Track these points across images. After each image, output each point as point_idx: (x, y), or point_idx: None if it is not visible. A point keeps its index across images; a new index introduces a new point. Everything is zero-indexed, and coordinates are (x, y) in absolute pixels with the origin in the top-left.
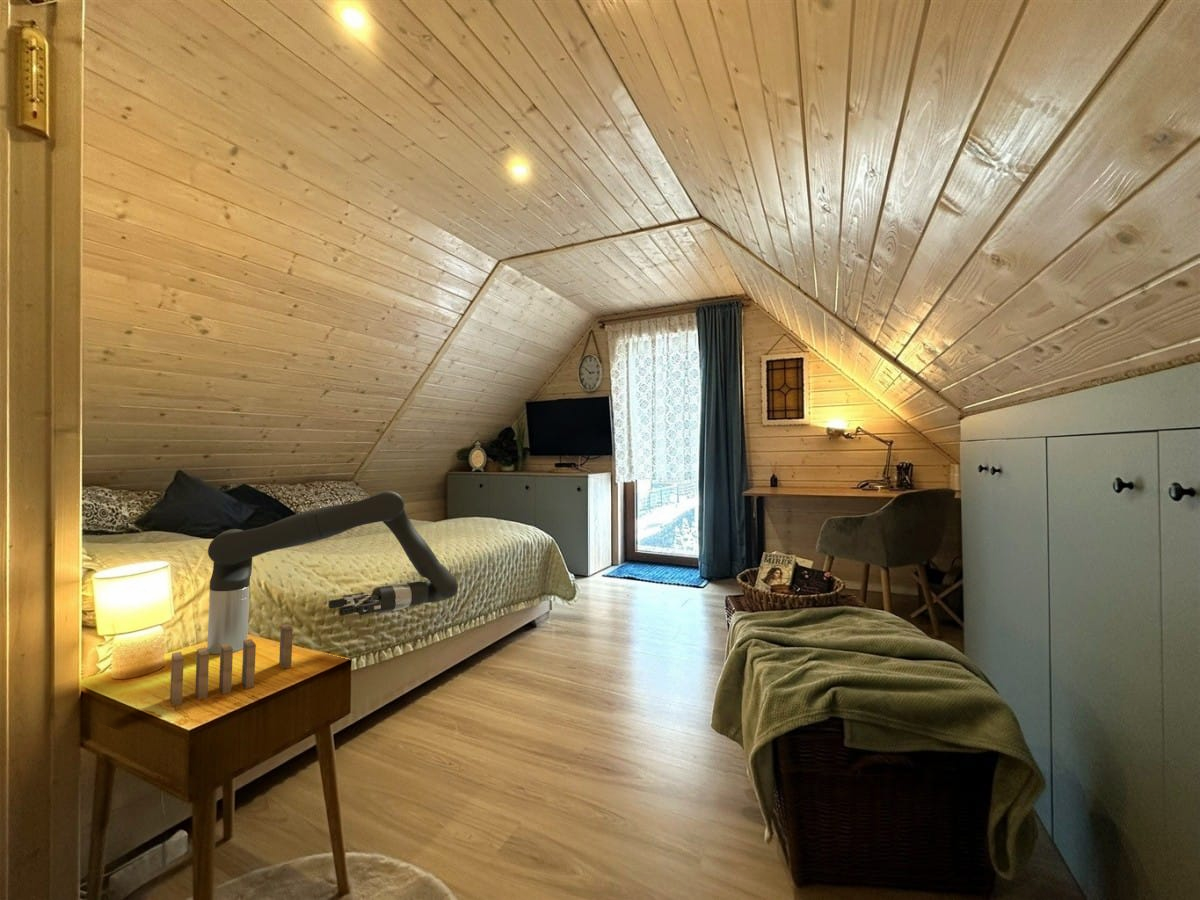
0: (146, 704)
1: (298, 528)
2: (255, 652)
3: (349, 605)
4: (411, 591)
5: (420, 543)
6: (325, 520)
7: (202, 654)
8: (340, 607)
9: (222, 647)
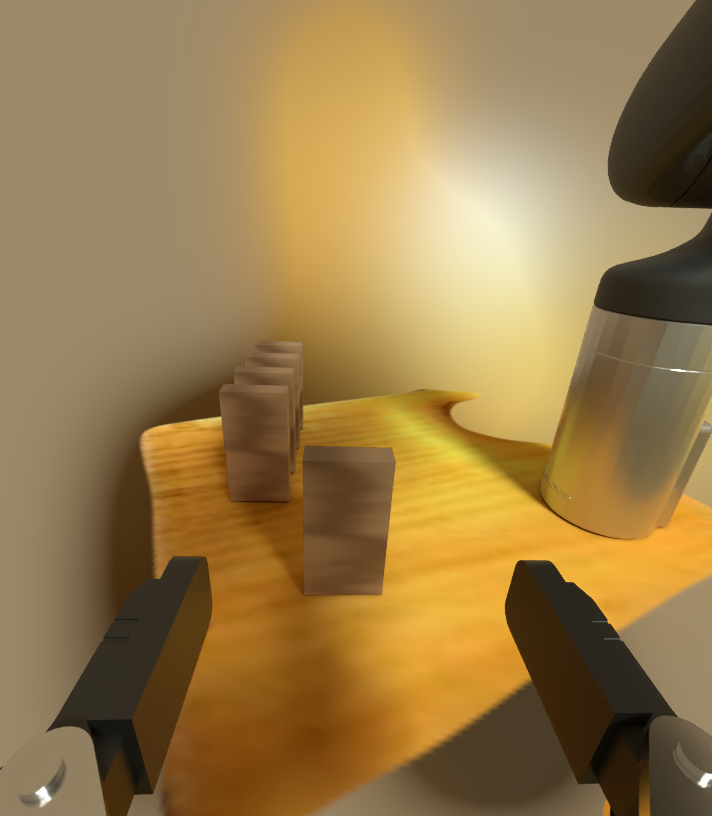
0: (306, 411)
1: None
2: (221, 413)
3: (149, 661)
4: None
5: None
6: None
7: (250, 353)
8: (182, 559)
9: (268, 367)
